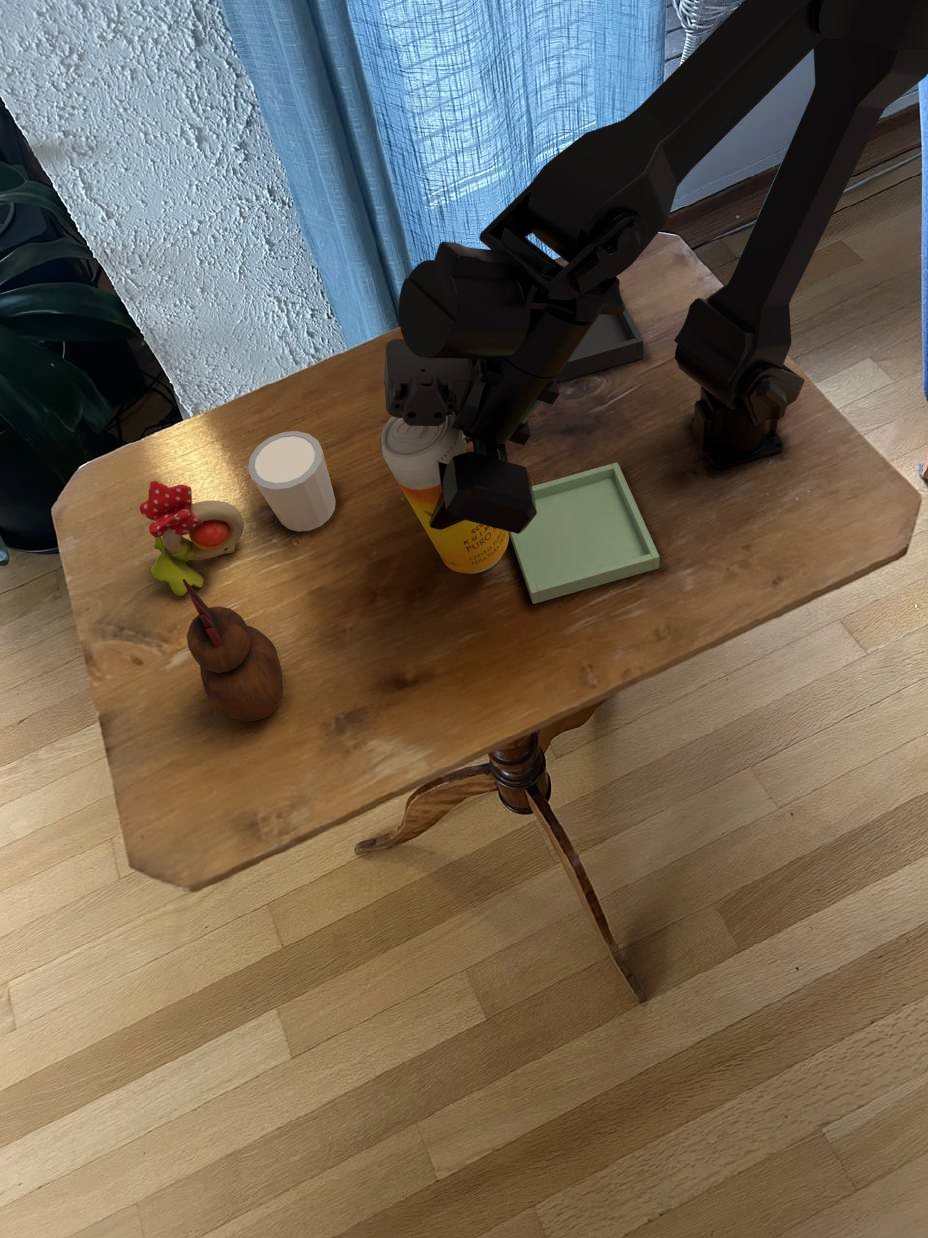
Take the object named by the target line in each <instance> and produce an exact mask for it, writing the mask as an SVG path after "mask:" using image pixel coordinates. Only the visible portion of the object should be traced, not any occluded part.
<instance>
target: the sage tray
mask: <svg viewBox="0 0 928 1238" xmlns="http://www.w3.org/2000/svg"><path fill="white" fill-rule="evenodd" d="M532 489H533V495H534V500H535V505H536V510H537V514H536V515H535V517H534V518H533V519H532V521H531V522H530V523H529V525H528V526H527V527H526V529H525V530H524V531H522V532H521V533H519V534H517V533H513V532H509V531H508V533H509V539H510V541H511V544H512V547H513V549H514V552H515V556H516V559H517V562H518V564H519V568H520V571H521V573H522V577H523V579H524V583H525V585H526V588H527V592H528V594H529V598H530V600H531V602H532V605H534V604H538V603H539V604H540V603H542V602H545V601H549V600H553V599H556V598H559V597H562V596H566V595H570V594H574V593H577V592H580V591H584V590H589V589H591V588H595V587H599V586H602V585H606V584H609V583H612V582H616V581H619V580H623V579H626V578H630V577H633V576H634V577H635V576H638V575H640V574H644V573H648V572H652V571H654V570H657V569H660V554H659V552H658V550H657V548H656V545H655V543H654V540H653V538H652V536H651V534H650V532H649V529H648V527H647V525H646V523H645V521H644V519H643V516H642V514H641V512H640V509H639V506H638V505H637V502H636V500H635V498H634V496H633V493H632V492H631V489H630V487H629V484H628V482H627V480H626V478H625V476H624V473H623V471H622V469H621V466H620V464H619V462H613V463H610V464H606V465H601V466H599V467H595V468H592V469H588V470H585V471H582V472H576V473H573V474H571V475H567V476H564V477H560V478H556V479H552V480H549V481H546V482H543V483H539V484H536V485H532Z"/></svg>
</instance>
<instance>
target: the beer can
mask: <svg viewBox="0 0 928 1238" xmlns="http://www.w3.org/2000/svg"><path fill="white" fill-rule="evenodd" d="M451 416H452V415H451V414H450V415H448V416H446V421H445V422H444V423H443V424H441V425H439V426H409V425H407V424H406V423H405V422H404V421H403V418H396V417H393V416H391V417H390V418H389V420H388V421H386V422H385V425H384V427H383V429H382V431H381V437H380V438H381V439H380V440H381V453H382V457H383V459H384V461H385V463H386V465H387V466H388V469H389V470H390V471H391V473H392V475H393V477H394V479H395V480H396V482H397V484H398V486H399V487H400V489H401V490H402V492H403V494H404V496H405V497H406V500H407V501H408V503H409V505H410V507H411V508H412V510H413V511H414V513H415V515H416V517H417V518H418V520H419V522H420V524H421V525H422V528H423V529H424V530H425V533H426V534H427V536H428V538H429V539H430V541H431V542H432V545H433V546H434V548H435V550H436V551H437V553H438V555H439V556H440V558H441V560H442V562H443V564H444V565H445V566H446V567H447V568H448V569H450V570H452V571H454V572H456V573H461V574H478V573H482V572H484V571H487V570H489V569H490V568H491V569H492V567H493V566H495V565H496V564H497V563H498V562H499V561H500V560H501V558H502V557H503V556H504V553H505V552H506V550H507V547H508V545H509V541H510V535H509V532H508V531H505V530H502V529H498V528H494V527H490V526H486V525H482V524H479V523H475V522H471V521H467V520H464V521H462V522H459V523H457V524H454V525H452V526H450V527H447V528H445V529H443V530H438V529H434V528H431V527H430V525H429V522H430V519H431V517H432V514H433V511H434V509H435V507H436V504H437V502H438V500H439V498H440V495H441V493H442V489H441V483H440V475H439V467H438V462H442V463H445V464H449V462H450V461H451V459H452V457H453V456H457V455H460V454H463V453H466V452H469V451H471V449H470V447H469V445H468V444H469V443H468V444H467V442H466V440H464V439H463V438H462V436H461V430H458V429H454V428H451V425H450V418H451Z"/></svg>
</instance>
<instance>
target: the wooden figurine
mask: <svg viewBox="0 0 928 1238" xmlns="http://www.w3.org/2000/svg"><path fill="white" fill-rule="evenodd" d="M182 581H183V583H184V585H185V587H186V589H187V593H188V594H189V596H190V601H191V602H192V604H193V606H194V608H195V610H196V611H197V613H198V614H197V615H196V616H195V617H194V618H193V619H192V621H191V622H190V624H189V627H188V630H187V634H186V641H187V647H188V650H189V652H190V654H191V656H192V658H193V659H194V660H195V662H196V663H197V664H198V665H199V669H200V671H199V673H200V678H201V682H202V685H203V690H204V692H205V694H206V696H207V698H208V699H209V700H208V701H210V702H211V704H213V705H214V706H215V707H216V708H217V709H219V710H220V711H221V712H223V713H224V714H226V715H227V716H228V717H231V718H233V719H236V720H241V721H247V722H252V721H259V720H263V719H265V718H266V717H269V716H271V715H272V714H273V712H275V711H276V710H277V709H278V707H279V705H280V703H281V701H282V698H283V693H284V685H283V684H284V682H283V671H282V666H281V662H280V658H279V655H278V654H279V653H278V651H277V648H276V646H275V645H274V643H273V641H272V640H271V639H270V638H269V637H267V636H266V635H265V634H264V633H262V632H261V631H260V630H259V629H257V628H255V627H253V626H252V625H251V626H250V625H247V623H246V621H245V619H244V618H243V617H242V615H240V614H239V613H238V612H236V611H235V610H233V609H231V608H229V607H225V606H221V605H219V606H211V607H208V605H207V604H206V602H204V600H203V599H202V598H201V597H200V596H199V594H197V592H196V590H194V588H193V587H192V586H190V585H189V584H188V582H187V581H186V580H185V579H183V580H182Z"/></svg>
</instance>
